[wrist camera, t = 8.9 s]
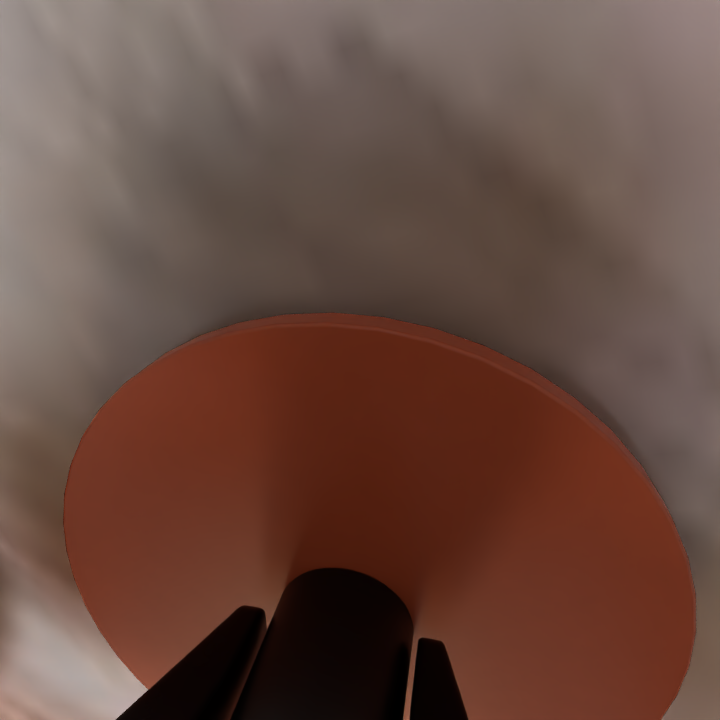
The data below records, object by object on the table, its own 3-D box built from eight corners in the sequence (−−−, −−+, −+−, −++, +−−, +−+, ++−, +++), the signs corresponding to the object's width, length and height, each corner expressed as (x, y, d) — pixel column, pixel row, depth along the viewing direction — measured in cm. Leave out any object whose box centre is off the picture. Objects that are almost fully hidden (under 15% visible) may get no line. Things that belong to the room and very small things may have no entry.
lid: (695, 256, 7) (1133, 521, 2) (659, 778, 11) (790, 1249, 6) (14, 332, 10) (-407, 523, 5) (189, 728, 14) (45, 1031, 9)
